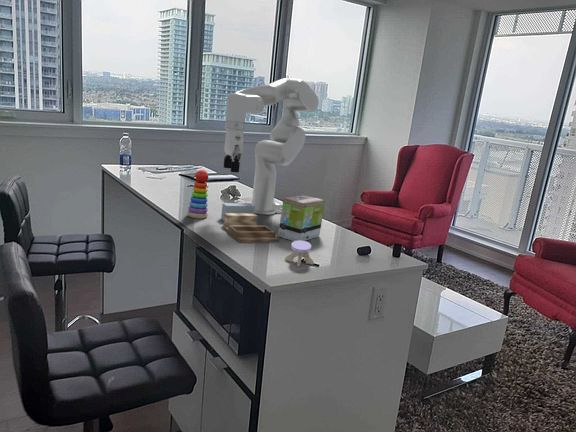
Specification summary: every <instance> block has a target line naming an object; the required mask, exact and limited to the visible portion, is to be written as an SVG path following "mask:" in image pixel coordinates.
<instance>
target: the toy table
mask: <svg viewBox="0 0 576 432" xmlns="http://www.w3.org/2000/svg"><path fill="white" fill-rule="evenodd" d="M290 248H291V249H292V252H290V253H289V254H287V255H286V256H285V257H284V261H286V262H293V261H294V259H295V258H296V257H297V263H296V266H297V267H301V263H302V258H304V260H305V264H306V265H314V264H315V261H314V260H313V258H312V257H311V256H310V254H309V252H310V251H312V244H311V243H310V242H308V241H307V240H305V241H301V240H298V241H292V242H291V244H290Z"/></svg>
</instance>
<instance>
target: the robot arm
mask: <svg viewBox="0 0 576 432" xmlns="http://www.w3.org/2000/svg"><path fill="white" fill-rule="evenodd" d="M226 97H227V98H226V99H227V100H226V108H225V109H226V110H225V120H224V121H225V122H224V123H225V124H224V130H226V131H225V139H224V155H223V156H224V157H223V168H224V169H230V173H238V174H239V173H240V164H241V158H242V157H243V154H244V132H245V126H246V117H247V115H246V114H248V115H258V114H260V113H262V112H263V111H264V107H265V106H274V105H275V104H277V103H280V102H282V117H281V118H280V119H279V121H278V122H277V123H276V125H275V126H273V129H272V130H271V132H270V134H269V139H270V140H269V139H263V140H260V141H258V142H257V143H256V145H255V148H254V158H255V159H254V160H255V166H254V167H255V168H254V179H253V188H252V196H251V197H252V198H251V204H252V205H253V206H255V208H254V214H255V215H265V216H267V215H269V216H271V215H275V214H276V213H277V212H276V210H277V209H282V205H283V203H280V204H279V203H275V201H274V199H275V190H276V183H277V182H276V181H277V175H278V174H277V169H276V165H278V166H283V167H284V166H285V167H286V166H289V165H290V164H291V163H292V162H293V161H294V160H295V158H296V157H297V155H298V154H299V152H300V151H301V150H302V149H303V147H304V145H305V142H306V132H305V130H304V129H303V128H302V127H299V125H300V119H299V117H298V114H297V112H304V113H313V112H315V111H316V110H317V109H318V107H319V102H320V101H319V96H318V95H317V93H316V92H315V91H314V90H313V88H312V87H311V86H310V85H309V84H308V83H307V82H306V81H305V80H303V79H299V78H287V77H284V78H280V79H278V80H277V79H276V80H275V81H273V82H271V83H267V84H264V85H259V86H254V87H248V88H243V89H241V90H239V91H236V92H229V93H228V94H227V96H226Z"/></svg>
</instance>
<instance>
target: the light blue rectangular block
mask: <svg viewBox="0 0 576 432" xmlns="http://www.w3.org/2000/svg"><path fill="white" fill-rule="evenodd" d="M221 206H222V207H221V216H220V219H221V220H222V221H224V214H225V213H246V214H255V213H254V208H255V206H253V205H252V203H239V202H237V203H234V202H231V203H229V202H223V203H222V205H221Z"/></svg>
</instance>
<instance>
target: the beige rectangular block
mask: <svg viewBox="0 0 576 432" xmlns="http://www.w3.org/2000/svg"><path fill="white" fill-rule="evenodd" d="M257 221H258V214H256V213H254V214H246V213H225V214H224V220H223V225H224V226H223V227H224V228H225V227H228V225H258V223H257Z"/></svg>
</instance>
